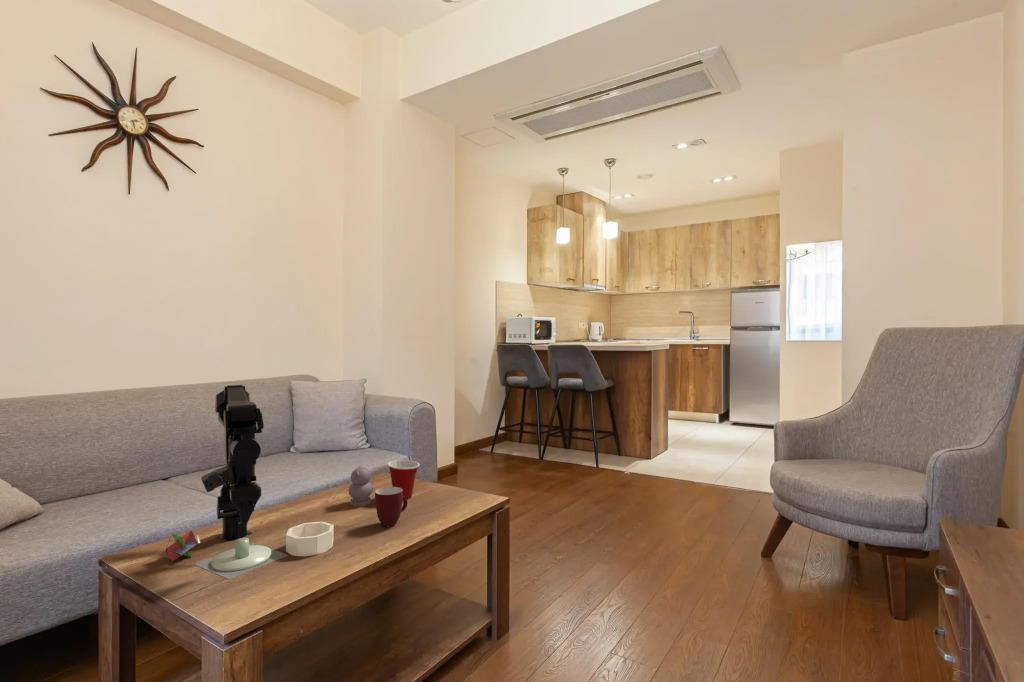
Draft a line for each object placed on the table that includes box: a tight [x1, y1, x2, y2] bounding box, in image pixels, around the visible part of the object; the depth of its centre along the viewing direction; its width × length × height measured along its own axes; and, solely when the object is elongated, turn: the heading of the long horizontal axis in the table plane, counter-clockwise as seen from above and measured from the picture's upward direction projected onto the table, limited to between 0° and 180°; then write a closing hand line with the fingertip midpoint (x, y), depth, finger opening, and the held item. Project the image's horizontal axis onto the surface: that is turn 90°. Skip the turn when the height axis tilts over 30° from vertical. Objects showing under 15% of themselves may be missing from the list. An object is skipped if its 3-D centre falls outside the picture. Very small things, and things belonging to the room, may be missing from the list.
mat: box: [193, 542, 289, 580], centre depth 124 cm, size 15×15×1 cm
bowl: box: [285, 521, 335, 557], centre depth 132 cm, size 11×11×5 cm
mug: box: [374, 486, 408, 528], centre depth 150 cm, size 11×8×10 cm
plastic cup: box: [387, 459, 420, 500], centre depth 174 cm, size 11×11×12 cm
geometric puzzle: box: [164, 530, 201, 562], centre depth 125 cm, size 7×7×8 cm
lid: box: [211, 537, 272, 572], centre depth 124 cm, size 13×13×5 cm
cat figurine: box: [348, 464, 374, 507], centre depth 168 cm, size 8×8×12 cm
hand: (242, 518), depth 124 cm, fingers open, 9 cm apart
